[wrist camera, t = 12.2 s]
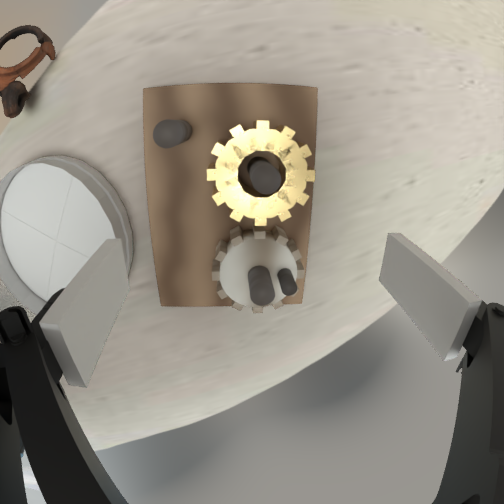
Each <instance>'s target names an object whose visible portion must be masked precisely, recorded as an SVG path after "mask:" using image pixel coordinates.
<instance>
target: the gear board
mask: <svg viewBox="0 0 504 504" xmlns="http://www.w3.org/2000/svg"><path fill="white" fill-rule="evenodd" d="M317 93H318V88H316V87H306V86H295V85H281V84H261V83H208V84H187V85H174V86H162V87H153V88H144V89H143V129H144V156H145V174H146V188H147V201H148V212H149V222H150V231H151V240H152V248H153V256H154V263H155V270H156V277H157V284H158V290H159V296H160V302H161V306H232V307H233V308H235V309H237V310H241V309H242V307H243V306H248V307H252V310H253V313H262V311H263V307H265V306H269V305H272V306H273V307H274V309H277V308H279V307H281V306H283V304H302V299H303V290H304V282H305V273H306V263H307V254H308V243H309V233H310V221H311V209H312V196H313V182H314V181H306V188H305V189H304V192H305V193H307V194H308V195H309V198H308V199H307V201H306V203H305V204H304V206H303V205H301V204H299V203H298V202H296V203H295V205H294V206H293V207H292V208H290V209H288V210H289V212H290V214H291V216H292V217H290V218H288V219H286V220H284V221H282V222H281V220H280V218H279V216H278V215H277V216H275V217H272V218H267V222H266V226H255V224H254V220H253V218H248V217H246V216H243V217H242V219H241V221H240V222H238V221H236V220H235V219H233V218H231V217H229V206H228V205H227V204H226V202H224V203H222V204H220V205H219V206H218V205H217V204H216V202H215V201H214V199H213V198H212V193H213V188H214V187H215V186H216V181H207V168H208V166H209V164H210V163H216V160H217V157H218V156H216V155H214V154H212V153H211V152H212V150H213V149H214V147H215V145H216V143H217V142H218V140H219V141H221V142H223V143H225V144H226V142H227V140H228V139H229V138H231V137H233V136H232V134H231V132H230V131H229V130H230V129H231V128H233V127H235V126H237V125H239V124H240V125H241V127H242V128H243V130H245V129H247V128H253V121H256V120H262V121H269V129H275V130H276V128H277V127H278V125H283V126H287V127H289V128H290V129H292V130H293V131H295V132H296V133H295V134H294V136H293V137H292V140H293V141H295V142H297V141H298V142H301V143H305V144H307V145H308V147H309V149H310V151H311V153H312V155H310V156H308V157H306V158H305V160H306V162H307V166H309V167H311V168H312V169H314V166H315V148H316V126H317ZM238 177H239V178H240V180H241V182H242V183H243V184H245V185H247V186H249V187H250V188H255V189H256V190H257V191H258V192H259V193H262V194H271V193H273V192H275V191H276V190H277V189H278V188H279V186H280V184H281V176H280V173H279V162H278V160H277V158H276V156H275V155H274V154H273V153H272V152H270V151H255V152H253V153H251V154H249V155H247V156H245V157H244V159H243V160H242V162H241V164H240V165H239V167H238Z"/></svg>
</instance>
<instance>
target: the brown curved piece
mask: <svg viewBox="0 0 504 504" xmlns="http://www.w3.org/2000/svg"><path fill="white" fill-rule="evenodd" d="M26 33H31V34H34V35H36V36H37V38H38V42H39V43H41V47H36V48H35V50H34V51H33V52H32V53H31V55H30V56H29V57H28V58H27V59H25V60H24V61H22V62H21V63H19V64H18V65H16V66H13V67H7V68H4V67H0V96H1V97H2V103H3V107H4V114H5V116H7V117H10V118H14V117H16V116H18V115H19V114H20V113H21V111H22V109H23V107H24V103H25V101H26V100H27V99H28V98H29V97H30V96H31V94H30V93H29V92H28V91H27V90H26V88H25V85H24V84H23V83H21V82H20V81H15V79H16V78H17V77H19V76H20V77H21V78H22V79H23V78H24V77H25V76H27V74H29V73H30V72H31V71H32V70H33V69H34V68H35V67H36V66H37V65H38V63H40V62H41V61H42V59H43V58H44V57H45V55H48V56H49V57H50V59H51V60H54V58H55V50H54V46H53V45H52V43H53V42H52V40H51V39H50V38H49V37H48V36H47V35H46V34H45V33H43V32H42V31H41V29H40V28H38V27H36V26H31V25H25V26H20V27H17V28H15V29H13V30H11V31H9V32H8V33H6V34H5V35H4V36H3V37H1V39H0V49H1V48H2V47H3V45H4V44H5V43H6V42H7V41H9V40H10V39H15V38H16V37H17V36H19V35H22V34H26Z"/></svg>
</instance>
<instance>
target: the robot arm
mask: <svg viewBox="0 0 504 504" xmlns="http://www.w3.org/2000/svg"><path fill="white" fill-rule="evenodd" d="M379 281H380V282H381V284H382V285H383V286H384V287H385V288H386V289H387V291H388V292H389V293H390V294H391V295H392V297H393V298H394V299H395V300H396V301H397V303H398V304H399V305H400V306H401V307H402V308H403V310H404V311H405V312H406V314H407V315H408V316H409V317H410V318H411V320H412V321H413V322H414V323H415V325H416V326H417V327H418V328H419V330H420V331H421V332H422V334H423V335H424V336H425V338H426V339H427V340H428V341H429V343H430V344H431V345H432V347H433V348H434V349H435V351H436V352H437V353H438V355H439V356H440V357H441V359H442V360H443V361H446V360H450V359H453V358H456V357H457V355H458V353H459V351H460V349H461V347H462V345H463V347H464V348H465V349H466V350H467V351H466V353H465V355H464V357H463V358H462V361H461V362H460V364H459V366H458V368H457V370H456V372H458V371H459V370H460V369H461V368H462V372H461V374H462V379H461V389H460V396H459V404H458V411H457V417H456V423H455V428H454V433H453V438H452V443H451V448H450V452H449V456H448V460H447V464H446V468H445V472H444V475H443V478H442V482H441V485H440V489H439V491H438V494H437V497H436V499H435V500H434V502H433V503H432V504H504V306H502V305H500V304H498V303H489V304H488V305H487V304H486V303H485V302H484V301H482V300H481V299H480V298H479V297H478V296H477V295H476V294H475V293H474V292H472V291H471V290H470V289H469V288H468V287H467V286H465V285H464V284H463V283H462V282H461V281H460V280H459V279H457V278H456V277H455V276H454V275H453V274H451V273H450V272H449V271H448V270H447V269H445V268H444V267H443V266H442V265H441V264H439V263H438V262H437V261H436V260H434V259H433V258H432V257H431V256H429V255H428V254H427V253H426V252H424V251H423V250H422V249H420V248H419V247H418V246H417V245H415V244H414V243H413V242H411V241H410V240H409V239H407V238H406V237H405V236H403V235H402V234H401V233H388V237H387V242H386V248H385V253H384V258H383V263H382V268H381V272H380V277H379ZM129 291H130V285H129V280H128V275H127V270H126V265H125V259H124V254H123V248H122V242H121V238H120V239H106V240H105V242H104V243H103V244H102V245H101V246H100V247H99V248H98V249H97V251H96V252H95V253H94V254H93V255H92V256H91V257H90V259H89V260H88V261H87V262H86V263H85V265H84V266H83V267H82V268H81V269H80V270H79V272H78V273H77V274H76V275H75V277H74V278H73V279H72V280H71V281H70V283H69V284H68V285H67V286H66V288H62V289H60V290H59V291H57V292H56V293H55V294H53V295H52V296H51V298H50V299H49V300H48V301H47V304H45V305H44V307H43V308H42V310H40V312H39V313H38V314H37V316H36V317H35V318H34V320H33V321H32V322H31V323H30V321H29V319H28V316H27V314H26V311H25V310H24V308H22V307H20V306H13V307H10V308H7V309H5V310H3V311H1V312H0V341H1V343H2V344H0V504H27V498H26V493H25V486H24V480H23V472H22V463H21V458H22V457H23V452H24V450H25V451H26V454H27V456H28V460H29V462H30V465H31V468H32V471H33V473H34V476H35V478H36V481H37V483H38V485H39V488H40V490H41V492H42V495H43V497H44V499H45V501H46V503H47V504H128V503H127V501H126V500H125V499H124V497H123V496H122V494H121V493H120V492H119V490H118V489H117V488H116V486H115V484H114V483H113V481H112V480H111V478H110V477H109V475H108V474H107V472H106V471H105V469H104V467H103V466H102V464H101V462H100V461H99V459H98V457H97V456H96V454H95V452H94V450H93V449H92V447H91V445H90V443H89V442H88V440H87V438H86V436H85V434H84V432H83V430H82V428H81V426H80V424H79V422H78V420H77V418H76V416H75V414H74V412H73V410H72V408H71V406H70V404H69V401H68V399H67V397H66V395H65V392H64V390H63V388H62V386H61V384H60V382H59V380H60V378H61V376H62V374H63V375H64V377H65V379H66V380H67V382H68V384H69V385H73V386H79V387H86V388H87V386H88V383H89V381H90V378H91V376H92V373H93V371H94V368H95V366H96V363H97V361H98V359H99V356H100V354H101V351H102V349H103V347H104V344H105V342H106V340H107V338H108V335H109V333H110V331H111V329H112V327H113V324H114V322H115V320H116V318H117V316H118V314H119V311H120V309H121V307H122V305H123V303H124V301H125V299H126V297H127V295H128V293H129Z"/></svg>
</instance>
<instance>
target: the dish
mask: <svg viewBox="0 0 504 504" xmlns="http://www.w3.org/2000/svg"><path fill="white" fill-rule="evenodd" d="M120 238H121V242H122V248H123V254H124V259H125V265H126V270H127V275H128V274H129V271H130V266H131V262H132V257H133V240H132V230H131V226H130V223H129V219H128V215H127V212H126V209H125V207H124V205H123V204H122V202H121V200H120V198H119V196H118V194H117V193H116V191H115V189H114V188H113V187H112V186H111V185H110V183H109V182H108V181H107V180H106V179H105V178H104V177H103V176H102V174H101V173H100V172H99V171H97V170H95V169H94V168H92V167H91V166H89V165H88V164H86V163H85V162H83V161H82V160H78V159H75V158H71V157H68V156H64V155H60V156H45V157H42V158H39V159H36V160H34V161H31V162H29V163H27V164H25V165H23V166H21V167H18V168H16V169H14V170H12V171H10V172H9V173H8V174H7V175H6V176H5V177H4V178H3V179H2V180H1V181H0V278H1V279H2V281H3V283H4V284H5V286H6V287H7V289H8V290H9V291H10V292H11V294H12V295H13V296H14V297H15V298H16V299H17V300H18V301H19V302H20V303H21V304H22V305H23V306H25V307H26V308H27V309H29V310H30V311H31V312H33V313H34V314H35V315H37V314H38V313H39V312H40V310H42V308H43V307H44V305H45V304H47V301H48V300H49V299H50V298H51V296H52V295H53V294H55V293H56V292H57V291H59V290H60V289H62V288H66V286H67V285H68V284H69V283H70V281H71V280H72V279H73V278H74V277H75V275H76V274H77V273H78V272H79V270H80V269H81V268H82V267H83V266H84V265H85V263H86V262H87V261H88V260H89V259H90V257H91V256H92V255H93V254H94V253H95V252H96V251H97V249H98V248H99V247H100V246H101V245H102V244H103V243H104V242H105V240H106V239H120Z"/></svg>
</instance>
